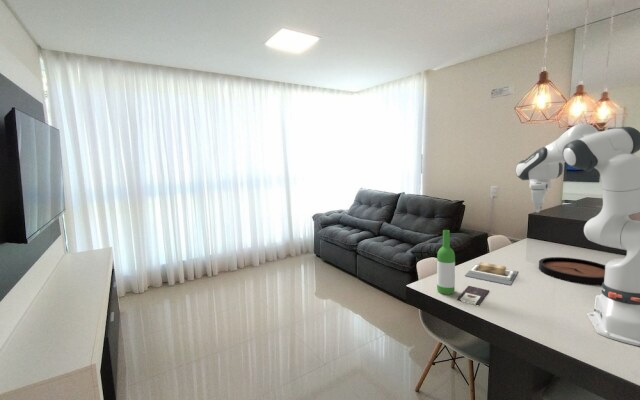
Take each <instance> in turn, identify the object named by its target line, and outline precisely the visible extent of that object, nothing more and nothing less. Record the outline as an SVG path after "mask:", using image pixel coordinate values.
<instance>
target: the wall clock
mask: <svg viewBox="0 0 640 400" xmlns="http://www.w3.org/2000/svg"><path fill="white" fill-rule="evenodd" d="M605 266H606V264H604V263H603V264H602V263H599V262H595V261H591V260H586V259H580V258H573V257H563V256H556V257H555V256H554V257H553V256H551V257H544V258H541V259H540V260H539V261H538V270H539V271H540V272H541V273H543V274H544V275H546V276H548V277H551V278H554V279H557V280H561V281H564V282H568V283H569V282H570V283H574V284H580V285H586V286H587V285H588V286H589V285H590V286H602V283H603V282H604V276H605Z"/></svg>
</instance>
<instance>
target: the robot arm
mask: <svg viewBox="0 0 640 400" xmlns="http://www.w3.org/2000/svg"><path fill="white" fill-rule="evenodd" d="M638 151H640V131H639V130H638V129H636V128H635V127H631V126H619V127H618V126H617V127H608V128H607V129H606V130H602V131H600V130H598V129H597V128H596V127H595V126H594V125H592V124H588V123H577V124H576V125H573V126H571V127H570V128H568V129H567V130H566V131H565V132H563V133H562V134H561V135H560V136H559V137H558V138H557V139H556V140H554V141H552V142H550V143H549V144H547V145H545V146H543V147H541V148H538V149H537V150H536V151H534V152H533V153H532V154H530V155H529V156H528V157H526V158H525V159H522V160H520V161H519V162H518V163H517V164H516V167H515V175H516V177H517V178H519V179H520V180H522V181H529V185H528V186H529V189H530V190H531V202H532V204H533V205H534V212H535V213H540V211H541V210H543V204H544V201H546V192H548V189H551V185H552V180H554V179H558V178H559V177H560V176H561V175H563V171H564V170H563V169H564V165H563V163H566V165H568V166H569V167H571V168H574V169H576V170H583V171H585V172H592V171H593V170H594V169H595V170H597V171H598V173H599V175H600V184H601V185H600V187H601V193H602V194H601V195H602V208H601V210H600V211H599V213H598V214H597V215H596V216H594V217H591V218H590V219H588V220H587V222H586V223H585V224H584V226H583V234H584V236H585V238H586V239H587V240H588V241H590V242H592V243H595V244H597V245H599V246H600V245H601V246H602V247H603V246H604V247H609V248H614V249H618V250H624V251H626V255H625V257H619V258H614V259H611V260H609V261H608V262H607V263H606V264H605V265H606V266H605V276H604V282H603V283H602V285H601V293H600V294H597V295H596V296H595V301H594V309H593V310H594V311H592V312H591V311H589V312H587V317H588V319H589V321H590V323H591V324H592V326H593V328H594V330H595V331H596V333H597V334H599V335H600V336H603V337H605V338H608V339H612V340H615V341H618V342H621V343H625V344H629V345H633V346H637V347H638V346H639V347H640V220H633V219H631V218H630V215H634V214H638V213H640V156H639V155H637V154H636V153H638Z"/></svg>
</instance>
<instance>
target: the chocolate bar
mask: <svg viewBox="0 0 640 400" xmlns="http://www.w3.org/2000/svg"><path fill="white" fill-rule="evenodd" d="M489 292H490V290H489V289H484V288H480V287H476V286H472V285H468V286H467V287H466V288H464V290H463V291H462V292H461V293H460V295H458V297H457V298H456V301H458V300H461V301H460V302H462V301H465V302H464V303H466V302H469V303H468V304H470V303H472V304H471V305H474V304H476V305H475V306H477V305H479V304H480V305H481V303H482V302H483V300H484V299H485V298H486V297H487V295H488V293H489ZM484 297H485V298H484ZM480 305H479V306H480Z"/></svg>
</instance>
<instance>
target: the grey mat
mask: <svg viewBox="0 0 640 400" xmlns="http://www.w3.org/2000/svg"><path fill="white" fill-rule="evenodd" d="M479 264H480V263H479ZM479 264H478V263H476V264H475V265H473V266H472V267H471V268H470V270H468V272H466V273H465V274H464V277H468V278H471V279H477V280H481V281H487V282H491V283H496V284H499V285H501V284H502V285H506V286H511V285H512V283H513V282H514V280H515V278H516V276H517V275H518V273H519V271H518V270H512V269H507V268H506V275H505V276H501V275H496V274H491V273H486V272H480V271H479Z"/></svg>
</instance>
